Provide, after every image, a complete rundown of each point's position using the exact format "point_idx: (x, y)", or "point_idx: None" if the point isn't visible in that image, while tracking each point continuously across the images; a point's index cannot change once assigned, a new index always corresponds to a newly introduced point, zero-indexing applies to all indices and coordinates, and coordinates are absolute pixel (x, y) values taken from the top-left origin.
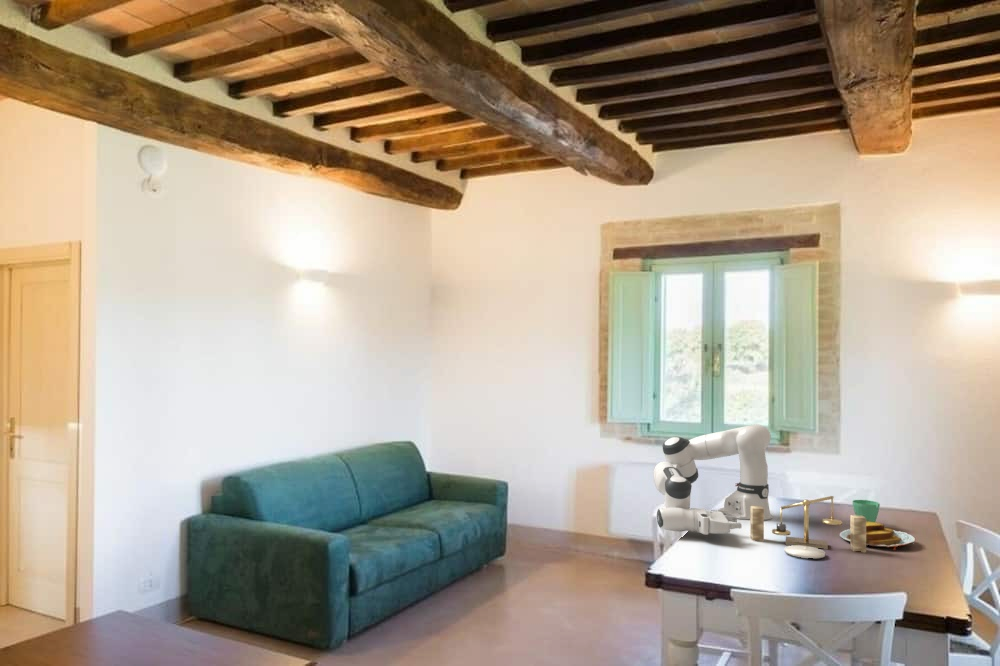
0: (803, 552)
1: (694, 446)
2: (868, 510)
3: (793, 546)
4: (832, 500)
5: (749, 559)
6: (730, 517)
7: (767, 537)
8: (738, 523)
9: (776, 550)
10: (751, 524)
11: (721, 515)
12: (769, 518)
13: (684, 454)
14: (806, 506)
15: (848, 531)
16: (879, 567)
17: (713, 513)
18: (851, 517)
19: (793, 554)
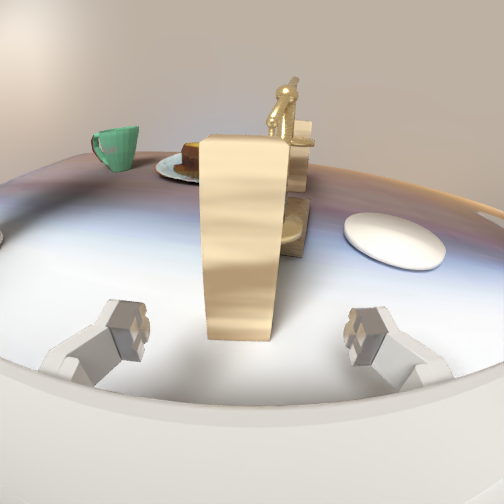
0: (419, 239)
1: None
2: (135, 137)
3: (370, 242)
4: (296, 87)
5: None
6: (100, 341)
7: (190, 280)
8: (392, 320)
9: (395, 287)
10: (237, 268)
11: (140, 441)
12: (2, 234)
13: None
14: (293, 106)
15: (166, 173)
16: (392, 197)
17: (6, 489)
18: (294, 123)
19: (443, 258)
